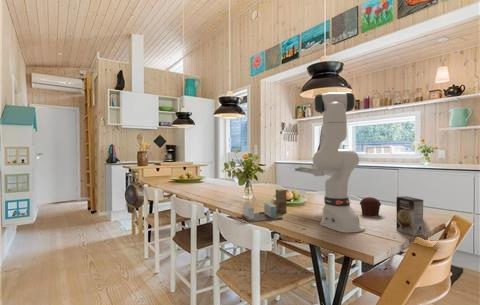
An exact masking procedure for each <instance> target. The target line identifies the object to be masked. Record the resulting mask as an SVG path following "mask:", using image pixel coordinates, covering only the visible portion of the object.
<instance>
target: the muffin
mask: <svg viewBox="0 0 480 305" xmlns="http://www.w3.org/2000/svg"><path fill="white" fill-rule="evenodd" d="M359 205H360V207H361V214H362V216H366V217H379V213H380V210H381V209H380V208H381V206H382V203H381V202H380V200H378V199H377V198H375V197H371V196H370V197H365V198H362V199H361V200H360V202H359Z"/></svg>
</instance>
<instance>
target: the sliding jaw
mask: <svg viewBox="0 0 480 305" xmlns="http://www.w3.org/2000/svg"><path fill="white" fill-rule="evenodd" d="M263 210H264V211H263V212H264V213H265V215H267V216H268V218H277V212H276V205H274V204H272V203H271V202H264V204H263Z"/></svg>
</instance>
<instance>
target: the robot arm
mask: <svg viewBox="0 0 480 305" xmlns="http://www.w3.org/2000/svg"><path fill="white" fill-rule="evenodd" d="M356 103H357V102H356V97H355V95H354V93H353V92H350V91H346V92H339V91H338V92H334V91H333V92H326V93H319V94H316V95H315V96H314V99H313V101H312V106H313V108H314V111H315V112H316V113H320V115H321V114H322V124H321V129H320V134H319V135H320V136H319V145H318V147H317V150H316V152H315V153H314V155H313V157H312V163H313V164H312V165H299V166H298V167H296V168H294V171H295V172H300V173H305V174H311V175H313V176H314V177H326V176H327V177H328V176H329V178H327V180H325V182H324V184H325V185H324V188H325V189H324V197H323V198H324V199H323V201H324V206H323V208H322V213H321V214H322V216H321V221H320V222H319V225H320V226H322V227H325V228H328V229H331V230H334V231H337V232H339V233H346V234H347V233H358V232H364V231H366V228H365V226H363V225H361V224H360V223H361V222H360V217H359V215H358V214H357V213H356V212H355V211H354V209H353V208H352V207H351V204H352V202H351V201H350V199H349V197H348V195H349V194H348V191H349V190H348V186H349V181H350V177H351V174H352V173H353V171H354V170H355V168H357V167H358V165H359V162H360V158H359V155H358V153H357V152H356V151H354V150H350V149H340V145H341V144H342V142H344V141H345V140H346V139H347V137H348V136H347V135H348V130H347V129H348V127H347V126H348V125H347V124H348V123H347V121H348V120H347V112H348V113H349V112H350V111H352V110H354V108H355V105H356Z"/></svg>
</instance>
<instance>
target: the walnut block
mask: <svg viewBox="0 0 480 305" xmlns="http://www.w3.org/2000/svg"><path fill="white" fill-rule="evenodd" d="M275 206H276V213H278V214H287V190H286V189H283V188H281V189H280V188H279V189H275Z"/></svg>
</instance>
